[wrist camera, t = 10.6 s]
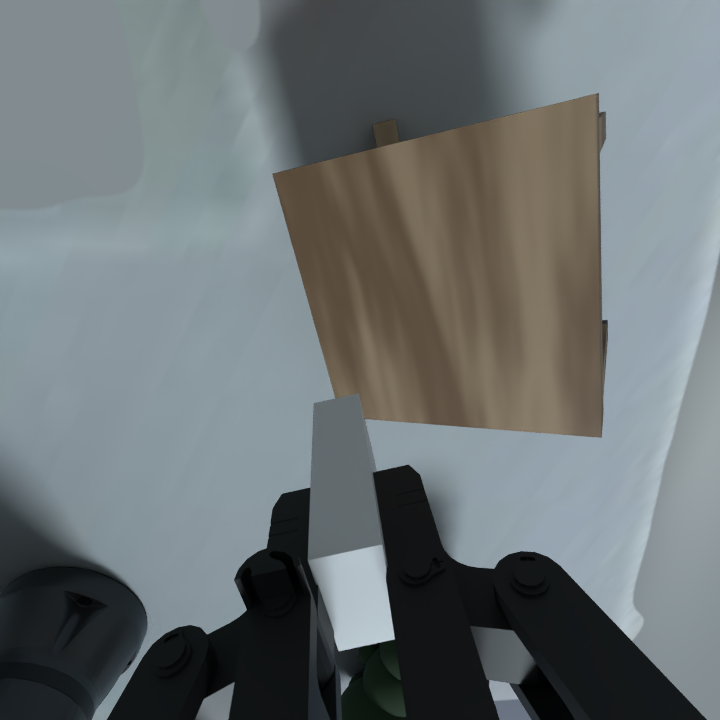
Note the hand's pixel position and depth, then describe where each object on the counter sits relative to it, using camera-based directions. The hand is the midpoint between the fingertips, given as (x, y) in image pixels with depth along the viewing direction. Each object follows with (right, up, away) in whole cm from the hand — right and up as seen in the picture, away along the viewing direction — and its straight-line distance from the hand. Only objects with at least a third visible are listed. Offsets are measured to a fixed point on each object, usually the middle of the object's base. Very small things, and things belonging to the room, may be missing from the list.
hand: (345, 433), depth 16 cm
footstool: (0, +8, +17) cm, 19 cm away
